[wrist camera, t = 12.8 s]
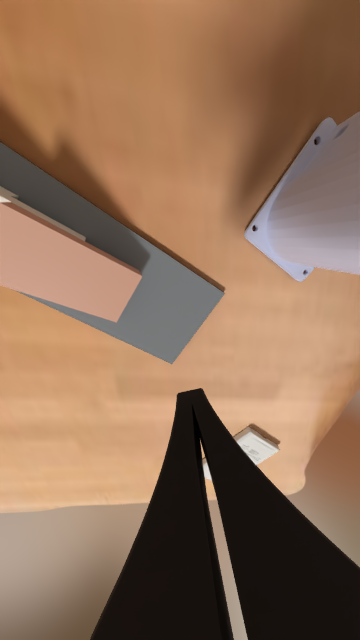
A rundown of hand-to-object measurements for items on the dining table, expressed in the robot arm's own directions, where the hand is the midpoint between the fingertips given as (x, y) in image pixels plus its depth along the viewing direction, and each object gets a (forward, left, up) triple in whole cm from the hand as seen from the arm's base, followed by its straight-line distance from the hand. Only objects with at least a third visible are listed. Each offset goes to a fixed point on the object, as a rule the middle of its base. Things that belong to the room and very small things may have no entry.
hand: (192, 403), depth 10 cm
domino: (0, -6, -9) cm, 11 cm away
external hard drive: (+16, +22, -11) cm, 29 cm away
